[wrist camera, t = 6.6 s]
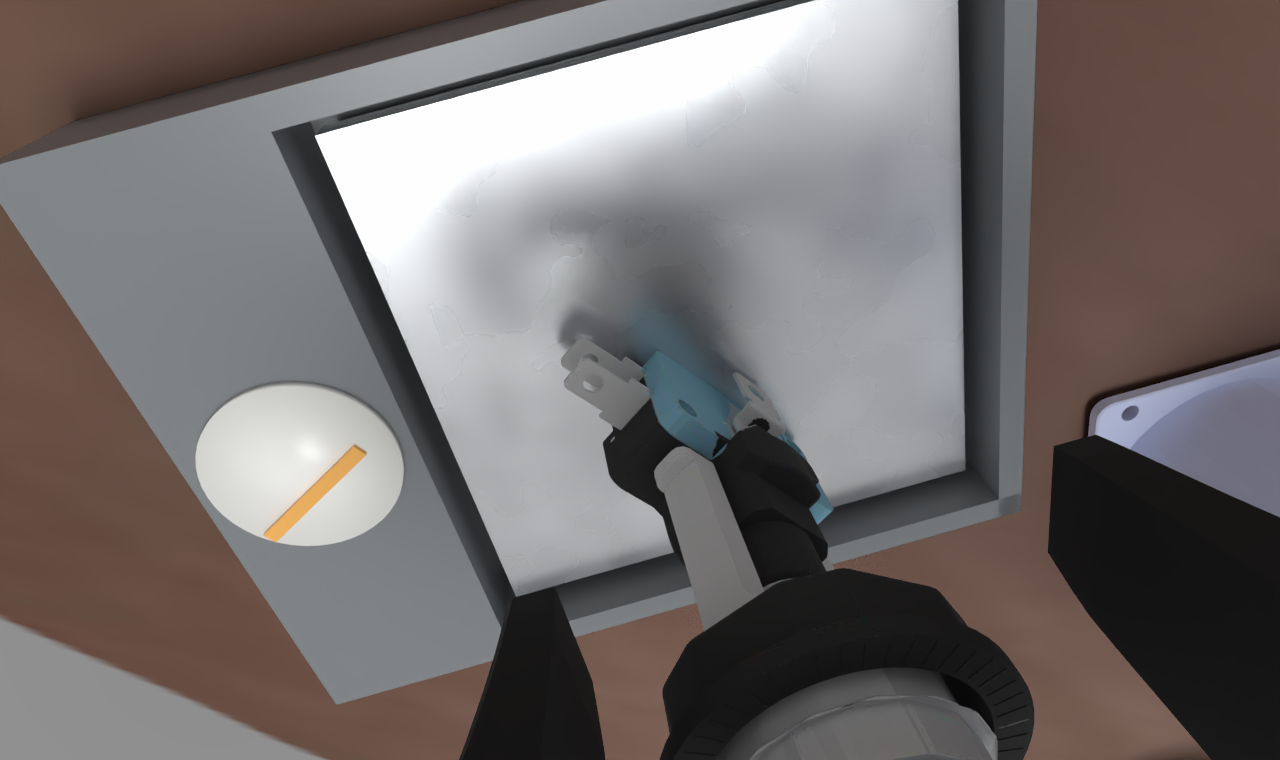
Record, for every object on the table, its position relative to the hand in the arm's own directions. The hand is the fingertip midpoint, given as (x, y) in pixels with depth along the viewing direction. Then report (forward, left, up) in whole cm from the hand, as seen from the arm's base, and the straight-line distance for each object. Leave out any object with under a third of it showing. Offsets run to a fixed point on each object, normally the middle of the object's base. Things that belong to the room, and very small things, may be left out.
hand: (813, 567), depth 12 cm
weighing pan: (0, 0, -8) cm, 8 cm away
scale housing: (+2, 0, -10) cm, 10 cm away
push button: (+1, +2, -8) cm, 8 cm away
